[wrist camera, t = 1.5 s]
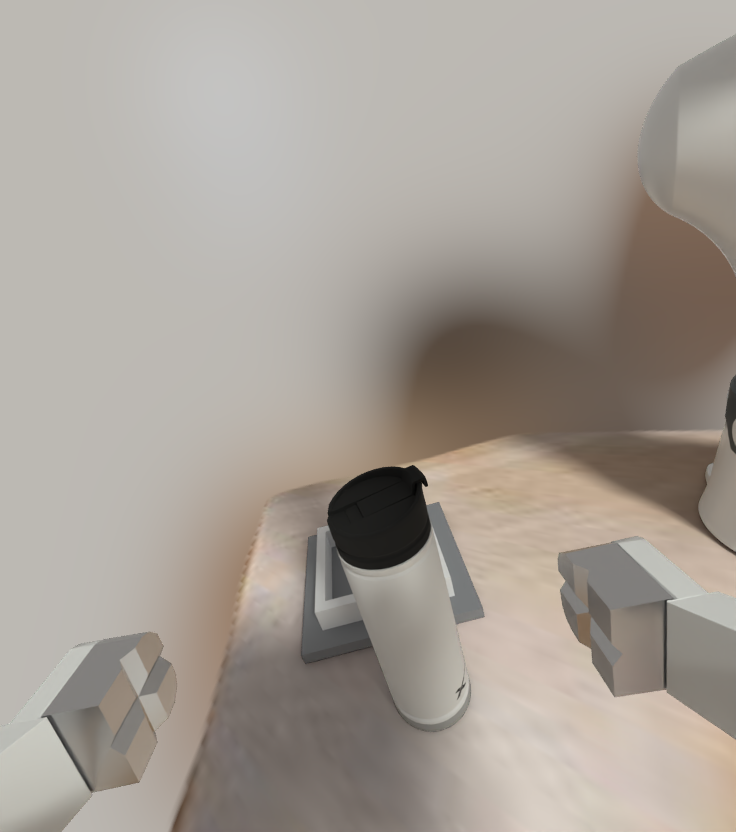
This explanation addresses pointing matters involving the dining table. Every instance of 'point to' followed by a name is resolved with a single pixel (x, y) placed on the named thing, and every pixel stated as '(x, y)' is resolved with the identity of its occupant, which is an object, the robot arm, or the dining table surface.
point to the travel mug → (402, 593)
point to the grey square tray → (336, 606)
